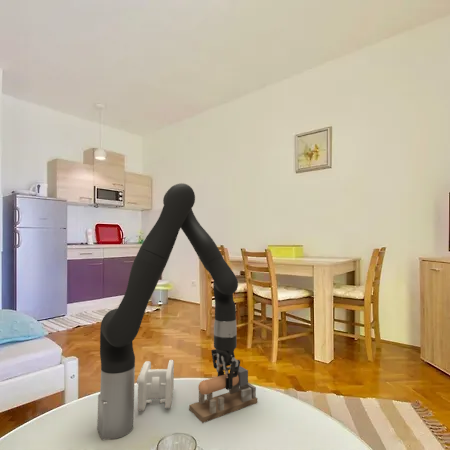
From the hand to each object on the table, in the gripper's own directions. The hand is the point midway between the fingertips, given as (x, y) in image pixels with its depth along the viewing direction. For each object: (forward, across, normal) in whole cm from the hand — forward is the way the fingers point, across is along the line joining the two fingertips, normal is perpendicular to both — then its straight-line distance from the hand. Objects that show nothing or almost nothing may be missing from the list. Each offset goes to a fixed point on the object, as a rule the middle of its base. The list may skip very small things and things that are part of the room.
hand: (224, 386), depth 101 cm
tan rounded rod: (+1, 0, -1) cm, 1 cm away
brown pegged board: (+6, 0, 0) cm, 6 cm away
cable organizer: (+7, -14, -18) cm, 24 cm away
